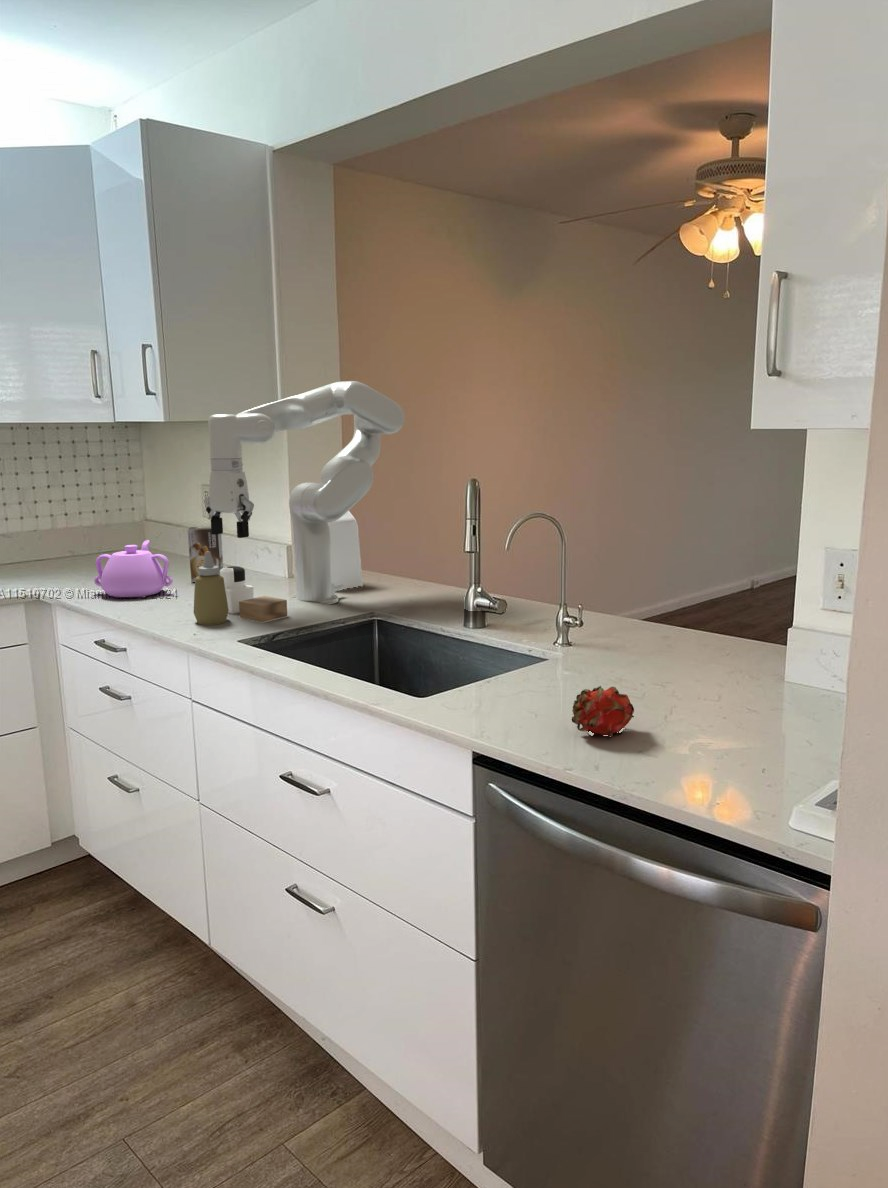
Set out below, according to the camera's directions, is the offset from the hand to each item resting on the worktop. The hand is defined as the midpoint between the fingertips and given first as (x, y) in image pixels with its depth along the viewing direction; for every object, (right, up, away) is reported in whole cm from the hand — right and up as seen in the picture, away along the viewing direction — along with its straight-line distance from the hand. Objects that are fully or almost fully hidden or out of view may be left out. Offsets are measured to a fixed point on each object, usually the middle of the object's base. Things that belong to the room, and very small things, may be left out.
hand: (230, 535), depth 225 cm
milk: (+21, -12, +39) cm, 46 cm away
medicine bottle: (0, -20, +4) cm, 20 cm away
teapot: (-34, -14, +32) cm, 48 cm away
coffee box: (-18, -11, +49) cm, 53 cm away
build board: (+9, -21, -4) cm, 24 cm away
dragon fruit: (+78, -37, -80) cm, 118 cm away
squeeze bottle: (-2, -22, -9) cm, 24 cm away
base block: (+9, -20, -5) cm, 22 cm away
